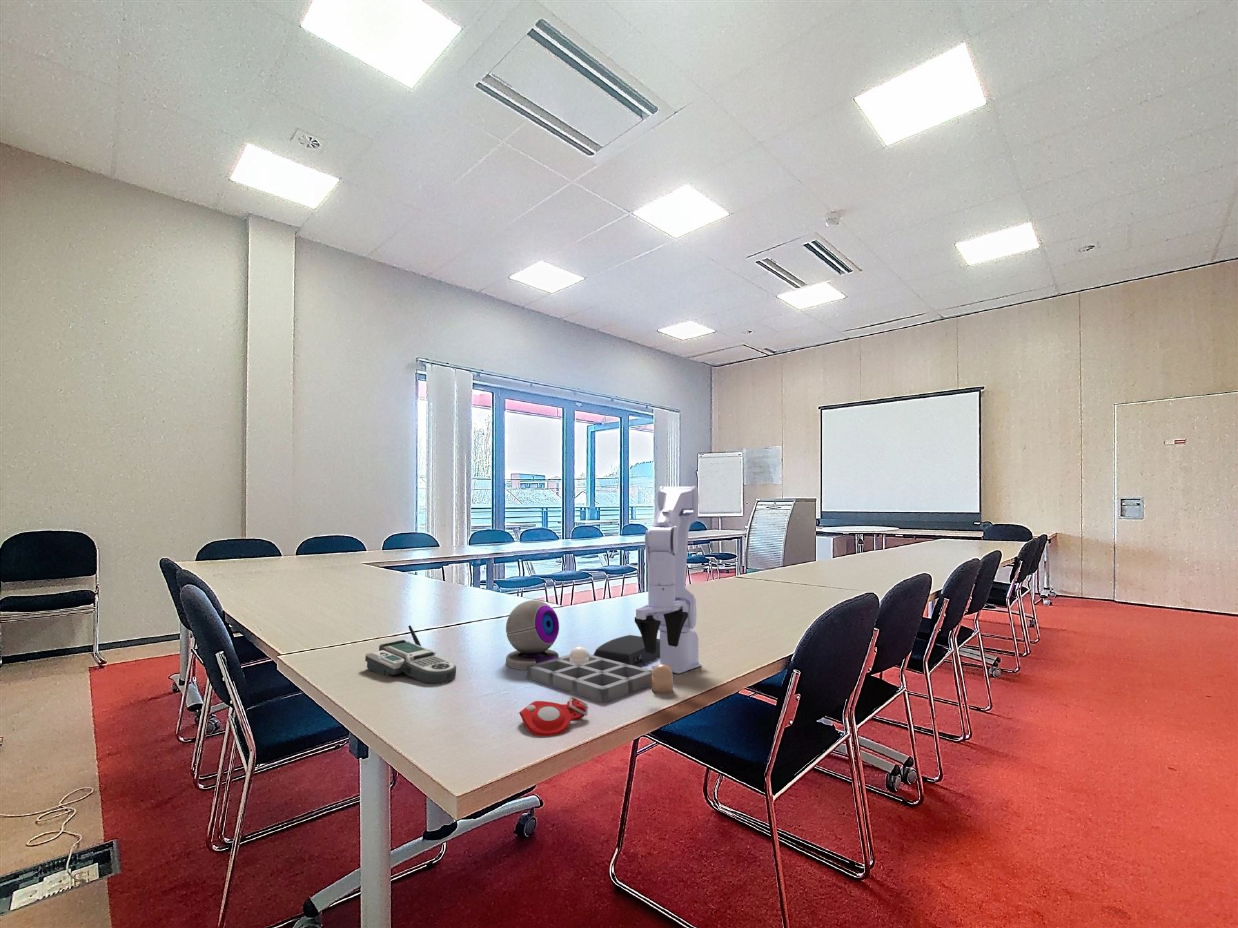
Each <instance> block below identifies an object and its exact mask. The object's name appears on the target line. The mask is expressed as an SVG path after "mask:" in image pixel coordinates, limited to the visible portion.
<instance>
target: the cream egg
mask: <svg viewBox="0 0 1238 928" xmlns="http://www.w3.org/2000/svg"><path fill="white" fill-rule="evenodd" d="M588 654H589V651H588V650H587V649H586V648H585V647H583V646H576V647H574V648H573V649H572V650H571V651H570V654H569V655H570V662H573V663H576V664H581V663H584V662H588V661H589V655H588Z"/></svg>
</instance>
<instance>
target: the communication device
mask: <svg viewBox="0 0 1238 928" xmlns="http://www.w3.org/2000/svg"><path fill="white" fill-rule="evenodd" d="M408 629H409V632H410V635H411V637H412V640H413V642H411V641H406V640H405V639H400V640H395V641H392V642H391V641H389V642H387V643H382V644H379V646H378V650H377V651H373V652H368V653H365V662H366V668H367V669H368V670H369V671H372V672H374V673H376V674H378V675H381V676H384V677H390V676H396V675H400V674H402V673H404V674H405V675H406V676H407V677H409V678H410V677H411V678H412V679H415V680H417V681H419V682H422V683H423V684H431V685H433V684H434V685H437V684H436V683H438V684H444V682H445V683H448V682H450V680H451V681H453V680H454V679H455V677H456V676H457V666H456V665H455V664H454V663H453V662H452V661H449V660H446V659H445V658H444V659H443V658H442V657H439V656H436V654H437V651H435V650H432V649H428V648H427V647H423V646H422V644H421V642H420V640H419V638H418V636H417V634H416V633H415V631H414V629H413V627H412V626H411V625H408ZM452 679H453V680H452ZM447 681H448V682H447Z"/></svg>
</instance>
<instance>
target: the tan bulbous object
mask: <svg viewBox="0 0 1238 928" xmlns="http://www.w3.org/2000/svg"><path fill="white" fill-rule="evenodd" d="M673 675H674V673H673V672H672V670H671V669H670V667H669V666H667V665H665V664H659V665H657V666H655V667H653V669H652V685H651V692H652V693H654V692H655V694H659V695H668V694H671V693H673V691H674V676H673Z"/></svg>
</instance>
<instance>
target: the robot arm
mask: <svg viewBox="0 0 1238 928" xmlns="http://www.w3.org/2000/svg"><path fill="white" fill-rule="evenodd" d="M699 500H700V499H699V488H698V487H697V486H696V485H692V486H665V485H661V486H660V487H659V488H658V490H657V507H658V510H659V511H658V513H657V514H656V516H655V519H654V521H653V524H652V526H650V528H649V529H646V530H645V535H644V547H645V553H646V554H645V557H646V562H647V566H648V569H647V574H648V575H647V577H648V579H647V584H648V586H647V587H648V588H647V589H648V590H647V594H648V595H647V597H648V599H647V600H648V601H647V604H645V605H644V606H641V607H638V608H636V609H635V616H634V623H635V624H636V626H637V629H638V631H639V633H640V635H641V637H642V639H643V642H644V646H645V651H646V652H647V653H652V654H654V653H655V652H656V644H657V639H658V634H659V639H660V657H659V662H657V663H655V664H653V665H652V668H654V667H655V666H657V665H659V664H665V665H667V666H669V667H670V669H671V670H672V674H674V673H675V674H683V673H684V672H688V671H689V670H693V669H695V668H698V667H701V666H702V665H703V663H701V662H700V661H699V637H698V636H699V635H698V634H697V632H696V630H695V629H694V628H695V627H696V625H697V599H696V597H695V595H694V594H693V593H692V592H690V591H689V590H688V589H687V588H686V581H687V580H686V578H687V563H688V562H687V560H688V540H689V530H690V528H691V525H692V524H694V523H696V522H697V521H698V517H699V503H700V502H699Z"/></svg>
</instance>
